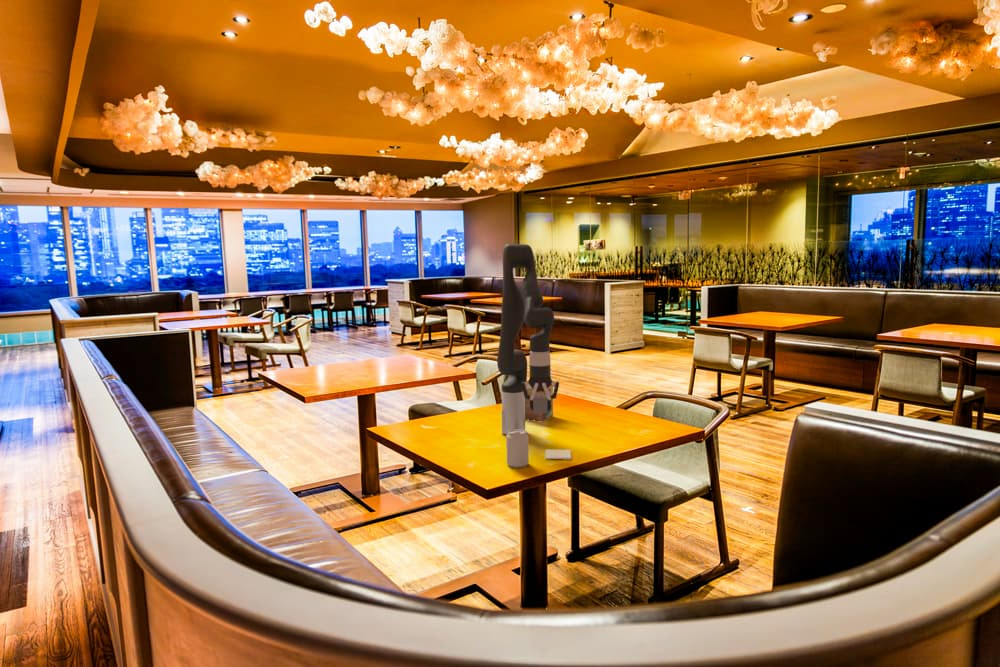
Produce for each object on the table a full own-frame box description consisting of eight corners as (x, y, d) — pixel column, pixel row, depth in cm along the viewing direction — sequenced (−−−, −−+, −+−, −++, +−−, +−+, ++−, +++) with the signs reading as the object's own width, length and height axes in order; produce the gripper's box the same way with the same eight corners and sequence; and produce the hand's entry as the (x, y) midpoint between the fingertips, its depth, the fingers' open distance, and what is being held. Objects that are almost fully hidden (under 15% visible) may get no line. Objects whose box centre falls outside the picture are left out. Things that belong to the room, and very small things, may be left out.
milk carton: (541, 422, 275) (541, 378, 272) (520, 418, 280) (519, 376, 278) (553, 416, 284) (552, 374, 281) (532, 413, 289) (531, 371, 287)
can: (503, 467, 219) (503, 432, 217) (511, 460, 226) (510, 427, 224) (524, 469, 216) (524, 434, 215) (531, 462, 223) (531, 428, 222)
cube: (533, 413, 230) (533, 399, 230) (533, 410, 235) (533, 396, 235) (547, 413, 230) (547, 399, 229) (547, 409, 235) (547, 396, 234)
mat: (545, 459, 226) (545, 457, 226) (545, 451, 235) (545, 449, 235) (571, 459, 225) (571, 457, 225) (570, 451, 234) (570, 449, 234)
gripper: (519, 365, 227) (520, 412, 229) (560, 365, 226) (560, 412, 228) (520, 361, 235) (521, 407, 237) (559, 361, 234) (560, 407, 236)
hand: (540, 409), depth 233 cm, fingers closed on cube, 5 cm apart
